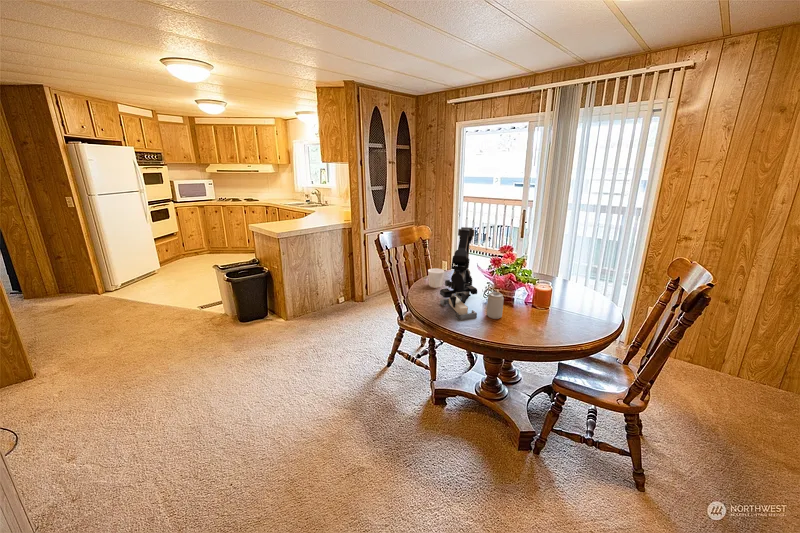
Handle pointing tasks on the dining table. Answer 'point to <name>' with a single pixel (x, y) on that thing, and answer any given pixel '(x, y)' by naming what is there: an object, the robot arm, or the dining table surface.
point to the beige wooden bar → (459, 306)
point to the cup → (436, 277)
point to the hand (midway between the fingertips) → (457, 307)
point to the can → (495, 305)
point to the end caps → (458, 316)
